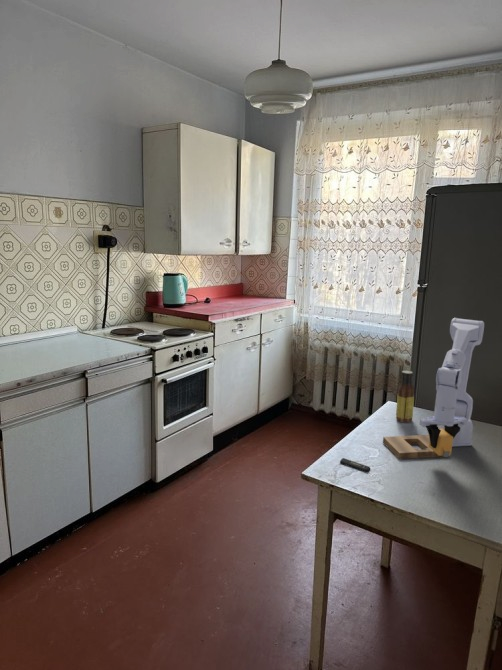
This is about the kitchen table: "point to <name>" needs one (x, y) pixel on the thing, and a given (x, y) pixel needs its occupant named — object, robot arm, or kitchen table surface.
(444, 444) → the block
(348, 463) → the usb stick
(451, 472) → the kitchen table surface
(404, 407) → the sauce bottle
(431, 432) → the robot arm
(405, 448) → the pocket board
